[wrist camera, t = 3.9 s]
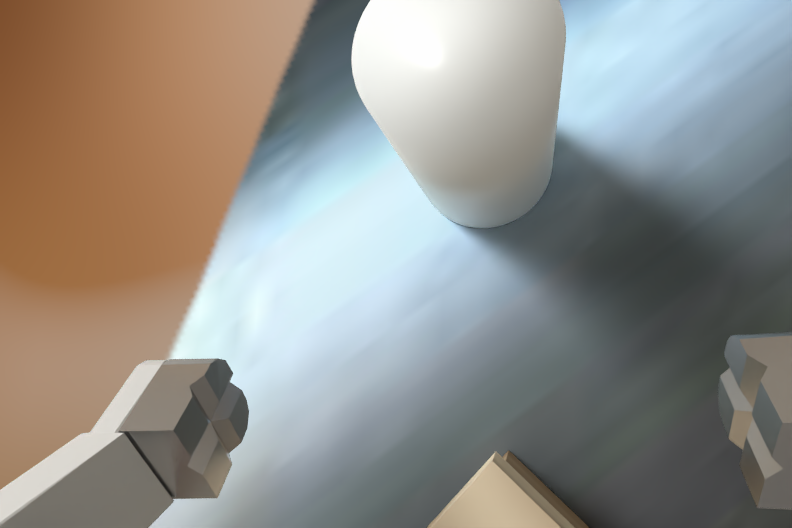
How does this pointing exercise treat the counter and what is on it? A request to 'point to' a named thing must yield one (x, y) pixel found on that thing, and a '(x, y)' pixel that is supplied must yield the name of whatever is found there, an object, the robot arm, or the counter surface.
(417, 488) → the counter surface
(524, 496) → the wooden board
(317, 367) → the counter surface
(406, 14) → the white rounded block
